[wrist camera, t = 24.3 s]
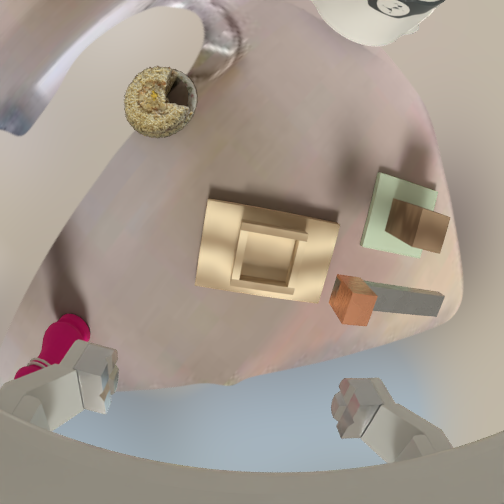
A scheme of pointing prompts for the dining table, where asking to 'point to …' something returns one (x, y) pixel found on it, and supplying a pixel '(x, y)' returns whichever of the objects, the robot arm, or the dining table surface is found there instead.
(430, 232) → the walnut block
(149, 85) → the cake
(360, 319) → the bar
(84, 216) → the dining table surface
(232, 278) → the well board
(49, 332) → the pepper mill
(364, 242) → the sage pad
